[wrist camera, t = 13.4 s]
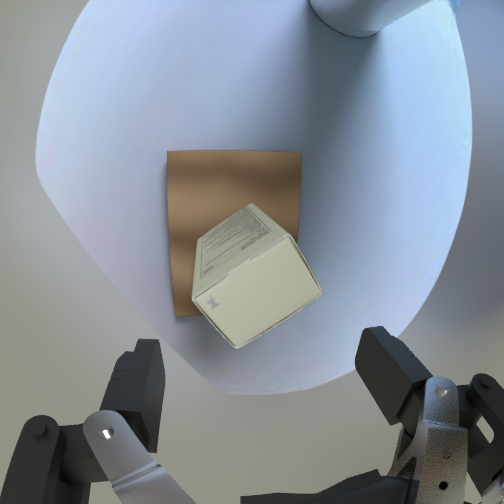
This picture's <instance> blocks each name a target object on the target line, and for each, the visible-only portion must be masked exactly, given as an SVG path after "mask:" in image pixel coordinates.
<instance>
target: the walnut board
mask: <svg viewBox="0 0 504 504" xmlns="http://www.w3.org/2000/svg"><path fill="white" fill-rule="evenodd" d="M301 164H302V153H296V152H279V151H255V150H185V151H167V203H168V229H169V247H170V262H171V275H172V287H173V298H174V308H175V316H204V314H203V313H202V312H201V311H200V310H199V308H198V307H197V306H196V305H195V303H194V302H193V301H192V288H193V276H194V267H195V257H196V248H197V240H198V239H199V238H200V237H202V236H203V235H204V234H206V233H207V232H208V231H210V230H211V229H212V228H214V227H215V226H217V225H218V224H220V223H221V222H222V221H224V220H225V219H227V218H228V217H230V216H231V215H233V214H234V213H236V212H237V211H239V210H240V209H242V208H243V207H245V206H247V205H248V204H250V203H253V204H254V205H255V206H257V207H258V208H259V209H260V210H261V211H263V212H264V213H265V214H266V215H268V216H269V217H270V218H271V219H272V220H273V221H274V222H276V223H277V224H278V225H279V226H280V227H282V228H283V229H284V230H285V231H286V232H288V233H289V234H290V235H291V236H292V237H293V239H294V241H295V242H296V244H297V239H298V224H299V207H300V187H301Z"/></svg>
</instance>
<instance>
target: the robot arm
mask: <svg viewBox="0 0 504 504" xmlns="http://www.w3.org/2000/svg"><path fill="white" fill-rule="evenodd" d="M430 1H432V0H310V4H311V6H312V8H313V10H314V11H315V13H316V14H317V15H318V16H319V17H320V19H322V20H323V21H324V22H325V23H326V24H327V25H329V26H330V27H332V28H333V29H335V30H337V31H339V32H341V33H343V34H346V35H349V36H354V37H367V36H371V35H373V34H374V33H376V32H378V31H379V30H381V29H383V28H384V27H386V26H388V25H389V24H391V23H393V22H394V21H396V20H398V19H400V18H401V17H403V16H405V15H406V14H408V13H410V12H412V11H414V10H415V9H417V8H419V7H421V6H423V5H425V4H426V3H428V2H430ZM355 367H356V370H357V372H358V374H359V375H360V377H361V378H362V380H363V382H364V383H365V385H366V387H367V388H368V390H369V392H370V393H371V395H372V396H373V398H374V400H375V401H376V403H377V405H378V406H379V408H380V410H381V411H382V413H383V415H384V416H385V418H386V419H387V421H388V423H389V424H390V425H394V424H397V423H399V422H401V423H402V425H403V426H402V428H401V430H400V433H399V438H398V442H397V447H396V451H395V455H394V459H393V462H392V466H391V468H390V470H389V472H388V474H387V476H380V473H379V472H378V469H375V470H372V471H369V472H366V473H363V474H360V475H357V476H353V477H350V478H347V479H345V480H343V481H341V482H339V483H338V484H335V485H334V486H331V487H330V488H327V489H325V490H323V491H321V492H319V493H315V494H294V493H271V494H263V495H253V496H241V499H240V501H241V502H240V504H471V503H468V502H465V501H464V494H465V485H466V475H467V472H468V474H469V475H470V477H471V479H472V481H473V482H474V484H475V486H476V488H477V489H478V491H479V493H480V495H481V497H482V498H481V502H480V503H479V504H504V389H503V388H502V387H501V386H500V385H499V384H498V382H497V381H496V380H495V379H494V378H493V377H491V376H489V375H487V374H481V373H480V374H476V375H475V376H474V377H473V378H472V380H471V382H470V384H469V385H458V386H456V384H455V383H454V382H453V381H451V380H450V379H448V378H446V377H443V376H434V377H433V375H432V374H431V373H430V372H429V371H428V370H427V369H426V367H425V366H424V365H423V364H422V363H421V362H420V361H419V360H418V359H417V357H415V356H414V354H413V353H412V352H411V351H409V348H408V347H407V346H406V345H405V344H404V343H403V342H402V341H401V340H399V339H397V338H396V337H394V336H391V335H390V334H389V333H388V331H387V330H386V329H385V328H384V327H383V326H377V327H370V328H365V329H364V330H363V332H362V335H361V339H360V342H359V346H358V350H357V353H356V357H355ZM164 389H165V370H164V364H163V359H162V354H161V348H160V343H159V340H158V339H138V341H137V344H136V347H135V350H134V352H128V351H126V352H125V353H124V354H123V355H122V356H121V357H119V358H118V360H117V362H116V364H115V367H114V372H112V375H111V380H110V381H109V383H108V387H107V389H106V392H105V395H104V398H103V401H102V404H101V407H100V410H99V411H97V412H94V413H92V414H91V415H90V416H88V417H87V419H86V420H85V422H84V423H83V424H79V425H68V426H59V425H58V424H57V422H56V421H55V420H54V419H53V418H51V417H49V416H45V415H38V416H34V417H32V418H31V419H29V420H28V421H27V422H26V423H25V425H24V427H23V429H22V431H21V434H20V437H19V439H18V442H17V445H16V447H15V450H14V453H13V456H12V459H11V462H10V465H9V468H8V471H7V474H6V478H5V482H4V485H3V489H2V492H1V496H0V504H88V502H89V494H90V486H91V482H102V481H110V482H111V484H112V488H113V490H114V492H115V493H116V495H117V496H118V498H119V499H120V501H121V502H122V504H197V503H195V501H194V500H193V499H192V498H190V496H189V495H188V494H187V493H186V492H185V491H184V490H183V489H182V488H181V487H180V486H179V484H177V482H176V481H175V480H174V479H173V478H172V477H171V475H170V474H169V473H168V472H167V471H166V470H165V469H164V468H163V467H162V466H161V465H158V464H157V463H156V462H155V461H154V459H153V458H152V457H151V456H150V454H149V453H148V452H150V453H157V444H158V435H159V427H160V418H161V411H162V403H163V396H164ZM482 416H483V417H484V419H485V420H486V421H487V423H488V424H489V425H490V427H491V428H492V430H493V432H494V438H493V441H492V442H491V443H489V442H488V441H487V439H486V438H485V436H484V435H483V433H482V432H481V431H480V429H479V428H478V426H477V425H476V424H477V422H478V421H479V419H480V418H481V417H482Z"/></svg>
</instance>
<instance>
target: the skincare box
mask: <svg viewBox="0 0 504 504" xmlns="http://www.w3.org/2000/svg"><path fill="white" fill-rule="evenodd" d="M322 294H323V291H322V289H321V287H320V285H319V284H318V282H317V280H316V278H315V276H314V274H313V272H312V270H311V268H310V266H309V265H308V263H307V261H306V259H305V258H304V256H303V254H302V252H301V251H300V249H299V247H298V246H297V244H296V242H295V241H294V239H293V237H292V236H291V235H290V234H289V233H288V232H286V231H285V230H284V229H283V228H282V227H280V226H279V225H278V224H277V223H276V222H274V221H273V220H272V219H271V218H270V217H269V216H268V215H266V214H265V213H264V212H263V211H261V210H260V209H259V208H258V207H257V206H255V205H254V204H253V203H250V204H248V205H247V206H245V207H243V208H242V209H240V210H239V211H237V212H236V213H234V214H233V215H231V216H230V217H228V218H227V219H225V220H224V221H222V222H221V223H220V224H218V225H217V226H215V227H214V228H212V229H211V230H210V231H208V232H207V233H206V234H204V235H203V236H202V237H200V238H199V239H198V240H197V248H196V257H195V267H194V276H193V288H192V301H193V302H194V303H195V305H196V306H197V307H198V308H199V310H200V311H201V312H202V313H203V314H204V316H205V317H206V318H207V319H208V320H209V322H210V323H211V324H212V325H213V326H214V327H215V328H216V330H217V331H218V332H219V333H220V334H221V335H222V336H223V337H224V338H225V339H226V340H227V341H228V342H229V343H230V344H231V345H232V346H233V347H234V348H235V349H238V348H240V347H242V346H244V345H246V344H248V343H249V342H251V341H253V340H255V339H256V338H258V337H260V336H261V335H263V334H265V333H266V332H268V331H270V330H271V329H273V328H274V327H276V326H277V325H279V324H280V323H282V322H283V321H285V320H286V319H288V318H289V317H291V316H292V315H294V314H295V313H297V312H298V311H300V310H301V309H303V308H304V307H305V306H307V305H308V304H310V303H311V302H312V301H314V300H315V299H316V298H318V297H319V296H321V295H322Z"/></svg>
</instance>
